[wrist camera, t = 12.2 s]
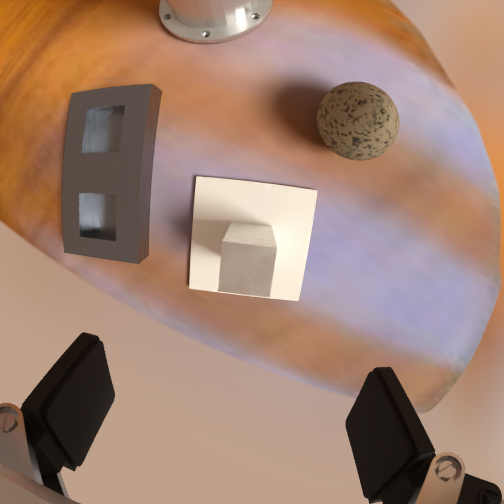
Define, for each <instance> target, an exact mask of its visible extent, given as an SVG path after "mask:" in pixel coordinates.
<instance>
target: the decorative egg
mask: <svg viewBox="0 0 504 504" xmlns="http://www.w3.org/2000/svg"><path fill="white" fill-rule="evenodd" d="M317 127H318V131H319V134H320V136H321V138H322V139H323V141H324V142H325V144H326V145H327V146H328V147H329V148H330V149H331V150H332V151H334V152H335V153H337V154H338V155H340V156H342V157H345V158H348V159H351V160H369V159H373V158H375V157H378V156H380V155H381V154H383V153H384V152H386V151H387V150H388V149H389V148H390V147H391V145H392V144H393V143H394V141H395V139H396V137H397V134H398V131H399V115H398V111H397V108H396V106H395V104H394V102H393V101H392V99H391V98H390V97H389V96H388V95H387V94H386V93H385V92H384V91H383V90H381V89H380V88H378V87H376V86H374V85H372V84H369V83H365V82H348V83H344V84H341V85H339V86H337V87H335V88H333V89H332V90H330V91H329V92H328V93H327V94H326V95H325V96H324V97H323V99H322V101H321V103H320V105H319V107H318V111H317Z"/></svg>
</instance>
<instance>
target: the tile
mask: <svg viewBox="0 0 504 504" xmlns="http://www.w3.org/2000/svg"><path fill="white" fill-rule="evenodd" d="M316 197H317V190H312V189H306V188H299V187H292V186H285V185H277V184H269V183H261V182H253V181H244V180H234V179H224V178H214V177H202V176H197V177H196V188H195V199H194V212H193V226H192V242H191V260H190V284H189V288H191V289H198V290H206V291H213V292H219V291H218V285H219V273H220V261H221V250H222V241H223V239H224V237H225V235H226V233H227V230H228V228H229V226H230V224H231V222H232V221H236V222H244V223H253V224H261V225H269V226H272V228H273V232H274V236H275V240H276V245H277V253H276V260H275V266H274V273H273V279H272V286H271V292H270V297H264V298H273V299H283V300H293V301H299V296H300V291H301V286H302V280H303V275H304V270H305V264H306V259H307V253H308V247H309V242H310V236H311V230H312V223H313V217H314V211H315V204H316ZM221 293H227V292H221ZM229 294H235V293H229ZM237 295H243V294H237ZM246 296H252V295H246ZM255 297H261V296H255Z"/></svg>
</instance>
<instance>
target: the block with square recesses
mask: <svg viewBox="0 0 504 504" xmlns="http://www.w3.org/2000/svg"><path fill="white" fill-rule="evenodd" d="M161 94H162V91H161V90H160V89H158V88H157V87H156V86H154V85H153V84H142V85H130V86H119V87H110V88H102V89H95V90H89V91H83V92H77V93H72V95H71V101H70V107H69V113H68V120H67V128H66V137H65V147H64V159H63V177H62V224H63V243H64V253H70V254H76V255H83V256H89V257H95V258H102V259H108V260H115V261H121V262H128V263H135V264H139V263H140V262H141V261H143V260H144V259H145V258H146V257H147V256H148V255H149V215H150V195H151V180H152V167H153V156H154V146H155V137H156V129H157V121H158V114H159V107H160V100H161Z"/></svg>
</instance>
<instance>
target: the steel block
mask: <svg viewBox="0 0 504 504" xmlns="http://www.w3.org/2000/svg"><path fill="white" fill-rule="evenodd" d="M276 253H277V245H276V240H275V236H274V232H273V228H272V226H269V225H261V224H253V223H244V222H236V221H232V222H231V224H230V226H229V228H228V230H227V233H226V235H225V237H224V239H223V241H222V250H221V261H220V273H219V285H218V291H219V292H227V293H235V294H243V295H252V296H261V297H270V292H271V286H272V279H273V273H274V266H275V260H276Z"/></svg>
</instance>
